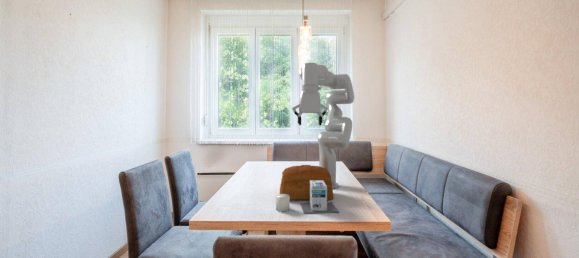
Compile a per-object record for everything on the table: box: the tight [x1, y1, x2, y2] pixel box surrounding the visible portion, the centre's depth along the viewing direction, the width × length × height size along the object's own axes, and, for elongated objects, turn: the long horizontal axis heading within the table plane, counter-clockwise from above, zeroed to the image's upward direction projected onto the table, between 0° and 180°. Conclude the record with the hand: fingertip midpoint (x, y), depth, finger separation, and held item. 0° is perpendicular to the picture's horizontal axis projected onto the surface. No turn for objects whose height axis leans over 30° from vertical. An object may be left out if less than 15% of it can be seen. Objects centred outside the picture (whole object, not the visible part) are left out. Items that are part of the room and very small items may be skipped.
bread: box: [279, 164, 335, 201], centre depth 137 cm, size 16×27×16 cm, turn 89°
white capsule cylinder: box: [275, 193, 291, 213], centre depth 119 cm, size 6×6×6 cm
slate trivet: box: [299, 201, 340, 215], centre depth 121 cm, size 12×15×1 cm
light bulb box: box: [309, 180, 328, 211], centre depth 120 cm, size 11×7×11 cm, turn 1°
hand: (310, 125), depth 131 cm, fingers open, 9 cm apart
